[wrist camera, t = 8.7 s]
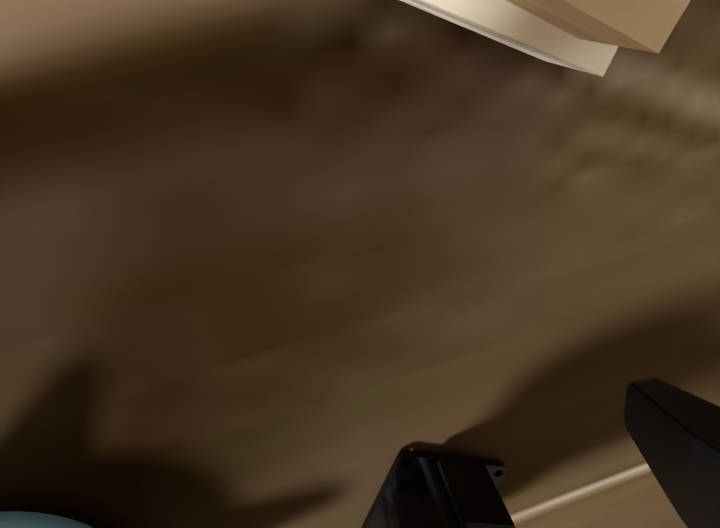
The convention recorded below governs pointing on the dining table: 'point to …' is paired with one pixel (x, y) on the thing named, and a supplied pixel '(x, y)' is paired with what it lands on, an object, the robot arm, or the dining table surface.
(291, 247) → the dining table surface
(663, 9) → the oak top block
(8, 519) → the teapot
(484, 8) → the birch base block
